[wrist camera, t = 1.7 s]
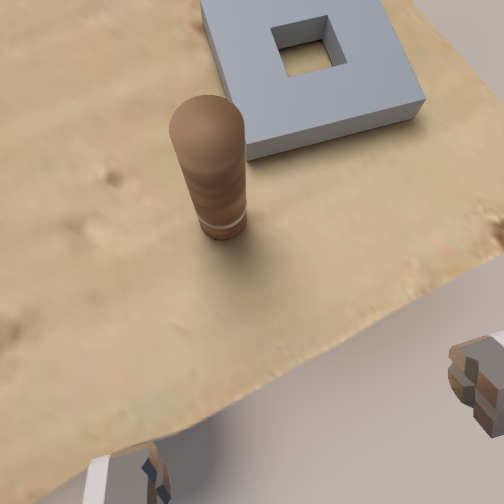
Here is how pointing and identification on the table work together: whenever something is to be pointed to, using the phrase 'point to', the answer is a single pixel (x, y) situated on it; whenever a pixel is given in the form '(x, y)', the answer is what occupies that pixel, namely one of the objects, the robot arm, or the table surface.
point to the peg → (212, 162)
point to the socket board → (313, 83)
